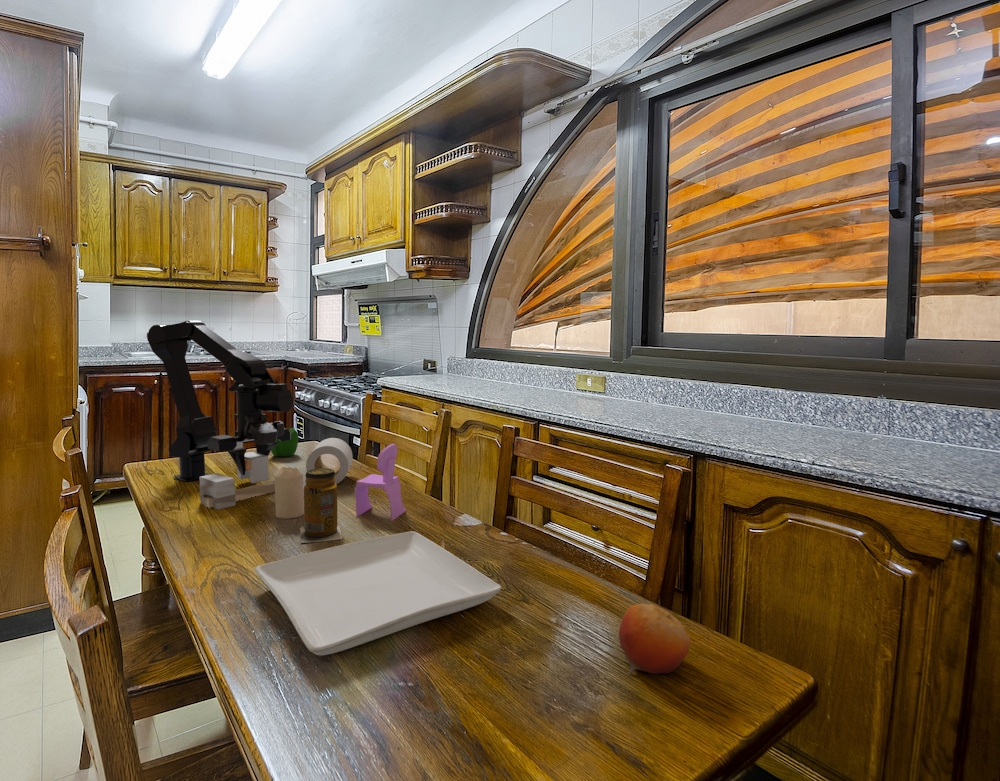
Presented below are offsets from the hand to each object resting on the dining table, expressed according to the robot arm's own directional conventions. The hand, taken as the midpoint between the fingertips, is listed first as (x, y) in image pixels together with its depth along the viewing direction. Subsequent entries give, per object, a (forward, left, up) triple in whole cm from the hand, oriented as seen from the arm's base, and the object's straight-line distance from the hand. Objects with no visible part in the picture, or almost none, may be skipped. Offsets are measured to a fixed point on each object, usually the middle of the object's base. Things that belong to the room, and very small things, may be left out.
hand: (252, 473), depth 140 cm
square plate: (+68, -22, -3) cm, 71 cm away
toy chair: (+41, +4, -3) cm, 41 cm away
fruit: (+107, -14, -3) cm, 108 cm away
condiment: (+41, -11, -3) cm, 42 cm away
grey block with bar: (+9, -7, -3) cm, 12 cm away
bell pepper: (-21, +23, -3) cm, 31 cm away
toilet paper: (+12, +14, -3) cm, 19 cm away
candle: (+27, -8, -3) cm, 28 cm away
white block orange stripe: (0, 0, -2) cm, 2 cm away
